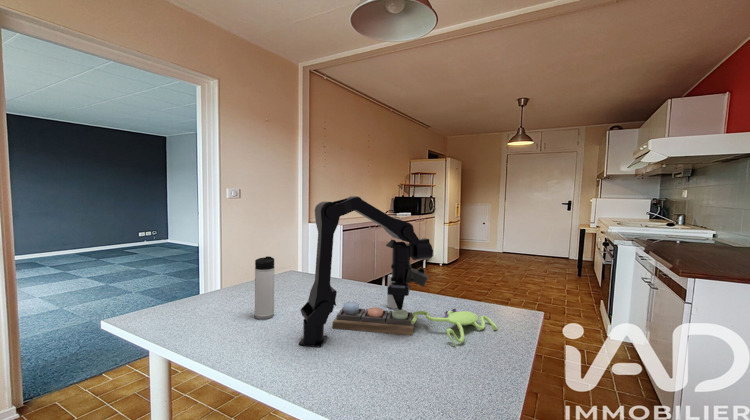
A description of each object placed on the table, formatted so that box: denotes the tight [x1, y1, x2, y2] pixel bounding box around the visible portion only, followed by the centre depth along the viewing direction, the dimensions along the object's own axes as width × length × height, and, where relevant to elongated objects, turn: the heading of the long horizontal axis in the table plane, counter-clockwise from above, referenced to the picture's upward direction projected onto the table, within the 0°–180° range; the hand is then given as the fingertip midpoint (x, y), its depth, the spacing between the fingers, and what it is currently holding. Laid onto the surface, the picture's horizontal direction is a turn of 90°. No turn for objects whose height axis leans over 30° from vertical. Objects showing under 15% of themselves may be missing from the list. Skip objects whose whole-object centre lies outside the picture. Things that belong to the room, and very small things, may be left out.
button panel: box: [332, 306, 415, 336], centre depth 106 cm, size 12×25×4 cm, turn 80°
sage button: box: [391, 308, 409, 320], centre depth 104 cm, size 5×5×2 cm
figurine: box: [411, 308, 498, 348], centre depth 104 cm, size 18×27×6 cm
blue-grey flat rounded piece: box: [343, 301, 360, 315], centre depth 107 cm, size 5×5×2 cm
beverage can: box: [386, 273, 398, 310], centre depth 123 cm, size 5×5×12 cm
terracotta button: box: [367, 307, 383, 318], centre depth 106 cm, size 5×5×2 cm
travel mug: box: [254, 256, 275, 321], centre depth 111 cm, size 6×7×20 cm
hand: (400, 309), depth 104 cm, fingers closed
